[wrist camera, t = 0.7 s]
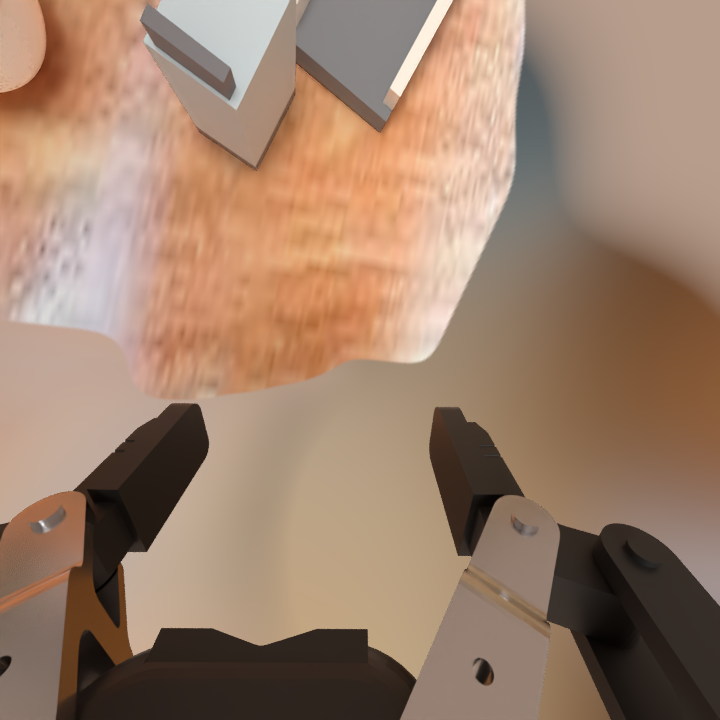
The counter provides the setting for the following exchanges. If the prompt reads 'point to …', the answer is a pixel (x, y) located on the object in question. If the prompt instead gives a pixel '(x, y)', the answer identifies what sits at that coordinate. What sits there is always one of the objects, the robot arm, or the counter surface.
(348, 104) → the tray
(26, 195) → the counter surface
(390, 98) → the tray
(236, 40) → the tall grey block
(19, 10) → the lidded jar
